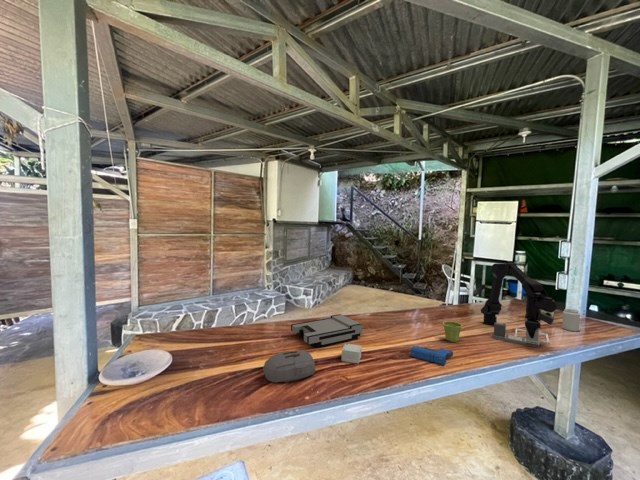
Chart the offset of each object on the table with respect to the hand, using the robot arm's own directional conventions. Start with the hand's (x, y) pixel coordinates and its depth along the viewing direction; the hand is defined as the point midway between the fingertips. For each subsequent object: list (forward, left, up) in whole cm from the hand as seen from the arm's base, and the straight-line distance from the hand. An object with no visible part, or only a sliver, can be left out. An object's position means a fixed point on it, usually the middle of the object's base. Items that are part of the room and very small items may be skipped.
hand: (531, 336), depth 143 cm
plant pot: (-34, -21, -4) cm, 40 cm away
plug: (0, 0, -1) cm, 1 cm away
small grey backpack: (-78, -101, -4) cm, 127 cm away
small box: (-65, -73, -4) cm, 98 cm away
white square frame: (0, +13, -4) cm, 14 cm away
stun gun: (-37, -48, -4) cm, 61 cm away
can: (+19, +42, -4) cm, 46 cm away
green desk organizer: (+7, +56, -4) cm, 57 cm away
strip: (-7, 0, -4) cm, 8 cm away
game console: (-88, -61, -4) cm, 107 cm away
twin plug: (-14, 0, -2) cm, 14 cm away
